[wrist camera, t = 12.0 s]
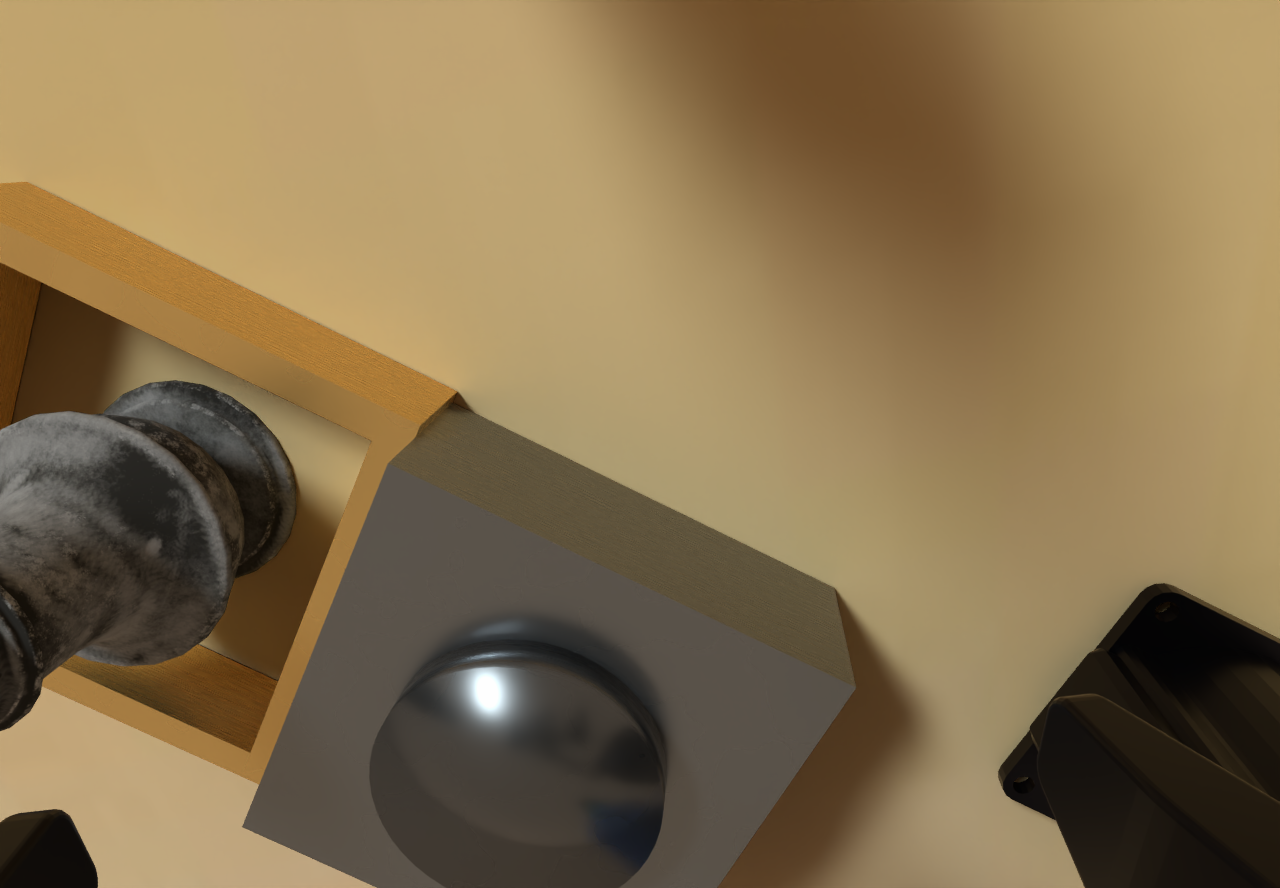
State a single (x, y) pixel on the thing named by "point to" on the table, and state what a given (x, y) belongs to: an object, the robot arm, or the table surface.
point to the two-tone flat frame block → (461, 623)
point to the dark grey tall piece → (130, 529)
